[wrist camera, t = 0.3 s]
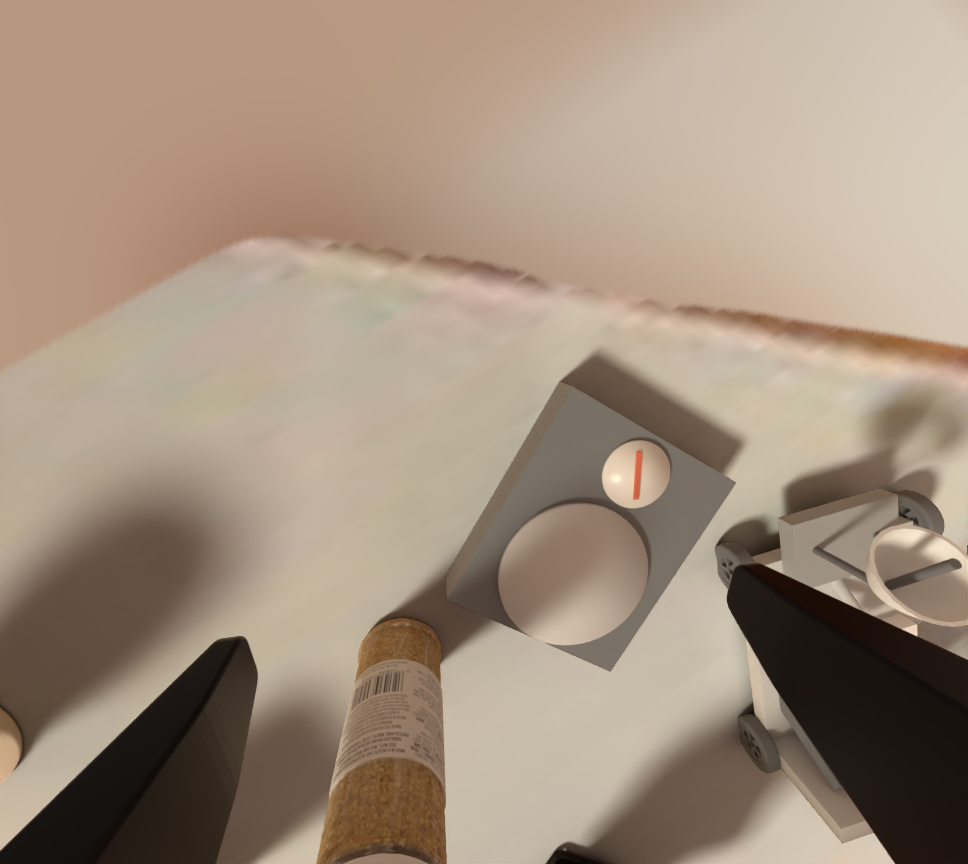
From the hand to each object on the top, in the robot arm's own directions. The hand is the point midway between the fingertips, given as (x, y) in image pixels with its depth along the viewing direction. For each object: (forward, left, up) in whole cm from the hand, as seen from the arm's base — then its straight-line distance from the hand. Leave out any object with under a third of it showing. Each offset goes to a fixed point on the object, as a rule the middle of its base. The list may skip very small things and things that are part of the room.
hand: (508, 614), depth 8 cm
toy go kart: (+1, -24, -16) cm, 29 cm away
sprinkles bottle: (-12, -3, -15) cm, 20 cm away
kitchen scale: (-1, -8, -15) cm, 17 cm away
